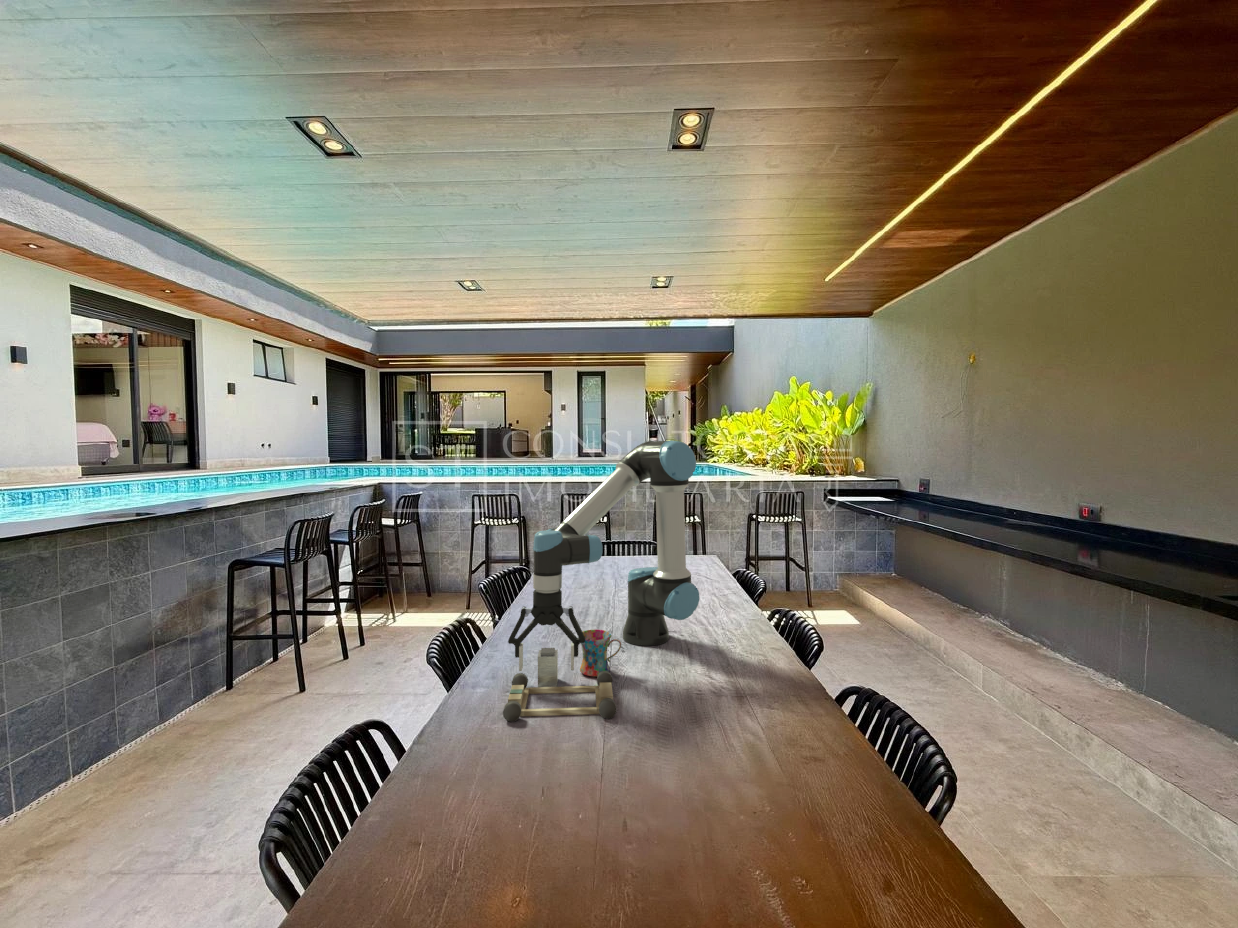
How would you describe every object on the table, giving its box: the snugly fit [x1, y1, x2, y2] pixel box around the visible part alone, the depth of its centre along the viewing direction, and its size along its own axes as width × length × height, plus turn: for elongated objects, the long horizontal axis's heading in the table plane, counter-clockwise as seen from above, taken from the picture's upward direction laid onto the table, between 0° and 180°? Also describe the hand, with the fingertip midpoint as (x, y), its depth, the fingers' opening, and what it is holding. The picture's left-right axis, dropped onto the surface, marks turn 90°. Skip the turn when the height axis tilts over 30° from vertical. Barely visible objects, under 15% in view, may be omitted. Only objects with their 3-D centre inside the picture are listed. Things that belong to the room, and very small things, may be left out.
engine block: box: [537, 647, 559, 687], centre depth 150 cm, size 5×5×9 cm
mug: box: [577, 629, 622, 677], centre depth 157 cm, size 12×9×11 cm
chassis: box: [502, 671, 617, 723], centre depth 139 cm, size 26×18×4 cm
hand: (546, 668), depth 150 cm, fingers open, 13 cm apart
